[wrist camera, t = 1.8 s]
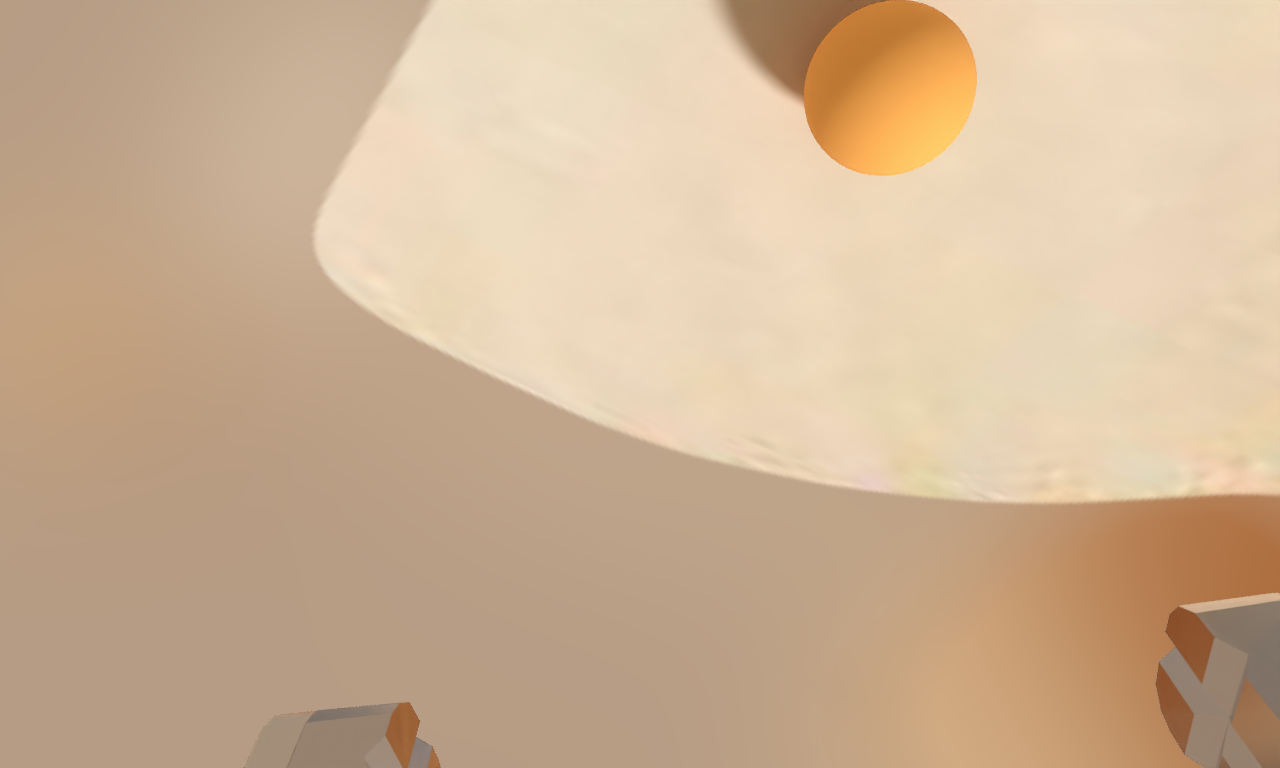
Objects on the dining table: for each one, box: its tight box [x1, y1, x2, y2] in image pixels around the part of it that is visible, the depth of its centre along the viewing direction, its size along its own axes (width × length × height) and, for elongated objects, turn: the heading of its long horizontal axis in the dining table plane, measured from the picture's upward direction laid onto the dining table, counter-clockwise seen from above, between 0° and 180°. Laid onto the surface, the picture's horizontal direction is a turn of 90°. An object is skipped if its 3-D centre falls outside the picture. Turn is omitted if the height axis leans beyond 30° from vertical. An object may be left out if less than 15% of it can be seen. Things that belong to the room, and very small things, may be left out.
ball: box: [804, 0, 977, 176], centre depth 27 cm, size 6×6×6 cm
